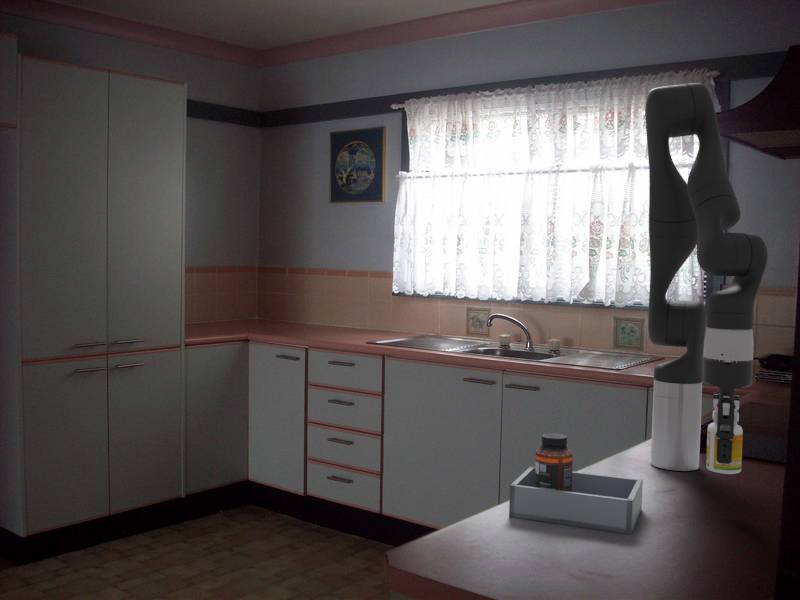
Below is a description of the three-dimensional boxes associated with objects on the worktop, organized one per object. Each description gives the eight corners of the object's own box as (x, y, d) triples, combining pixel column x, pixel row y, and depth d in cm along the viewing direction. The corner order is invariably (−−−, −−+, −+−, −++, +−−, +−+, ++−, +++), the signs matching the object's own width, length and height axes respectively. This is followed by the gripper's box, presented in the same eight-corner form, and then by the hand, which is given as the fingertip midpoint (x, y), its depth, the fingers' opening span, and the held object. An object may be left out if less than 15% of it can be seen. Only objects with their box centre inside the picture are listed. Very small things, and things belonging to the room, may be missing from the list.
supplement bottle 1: (572, 501, 135) (575, 433, 135) (569, 511, 129) (572, 440, 129) (536, 497, 137) (538, 430, 136) (531, 507, 131) (534, 437, 131)
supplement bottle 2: (748, 473, 133) (751, 413, 132) (723, 476, 131) (725, 415, 130) (723, 464, 138) (726, 407, 137) (698, 467, 136) (701, 409, 135)
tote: (529, 495, 141) (530, 466, 141) (641, 509, 134) (642, 479, 134) (509, 516, 129) (510, 485, 128) (631, 534, 122) (632, 501, 121)
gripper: (704, 349, 141) (700, 446, 142) (702, 359, 128) (698, 466, 129) (751, 352, 139) (747, 451, 140) (754, 362, 125) (749, 471, 126)
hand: (723, 457), depth 134 cm, fingers closed on supplement bottle 2, 5 cm apart
